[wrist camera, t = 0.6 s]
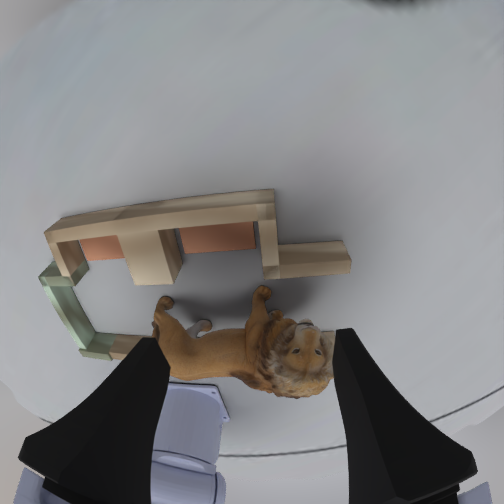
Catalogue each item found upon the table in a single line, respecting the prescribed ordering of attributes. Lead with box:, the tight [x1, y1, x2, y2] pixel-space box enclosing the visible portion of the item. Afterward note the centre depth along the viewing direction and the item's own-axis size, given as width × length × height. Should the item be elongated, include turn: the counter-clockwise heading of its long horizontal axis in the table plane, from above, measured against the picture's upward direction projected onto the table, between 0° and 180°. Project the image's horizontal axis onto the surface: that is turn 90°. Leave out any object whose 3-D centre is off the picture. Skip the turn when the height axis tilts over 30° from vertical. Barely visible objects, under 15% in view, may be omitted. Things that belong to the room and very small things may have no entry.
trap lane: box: [38, 189, 351, 361], centre depth 20 cm, size 14×25×3 cm, turn 96°
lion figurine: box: [152, 285, 334, 399], centre depth 18 cm, size 15×5×9 cm, turn 109°
